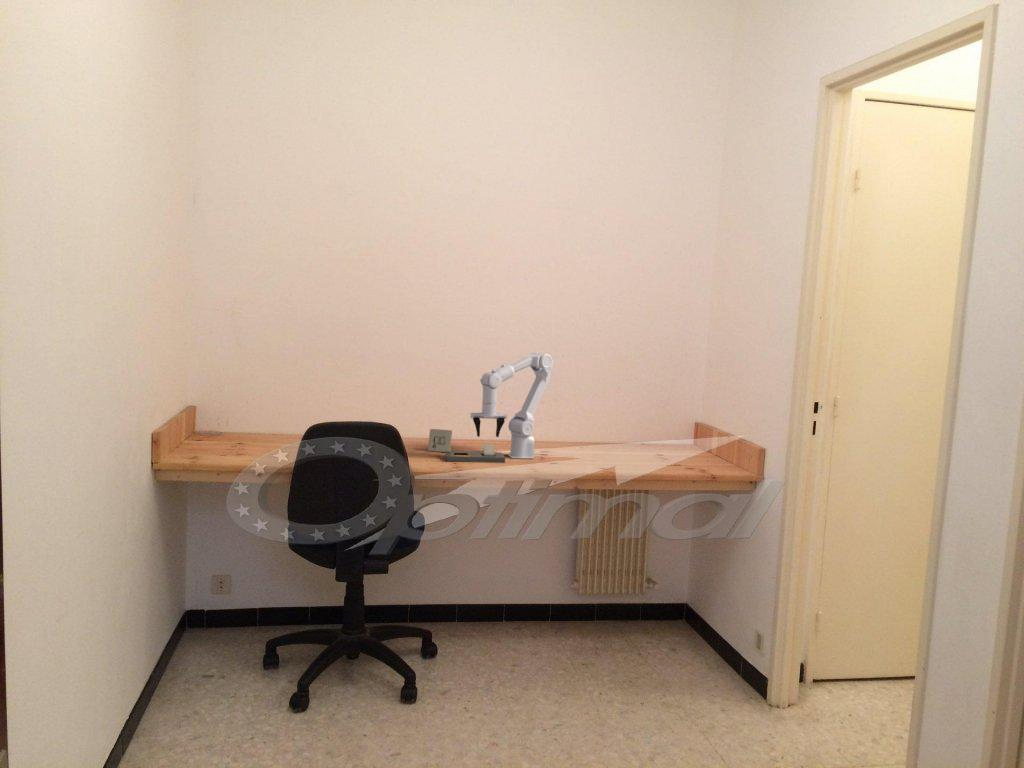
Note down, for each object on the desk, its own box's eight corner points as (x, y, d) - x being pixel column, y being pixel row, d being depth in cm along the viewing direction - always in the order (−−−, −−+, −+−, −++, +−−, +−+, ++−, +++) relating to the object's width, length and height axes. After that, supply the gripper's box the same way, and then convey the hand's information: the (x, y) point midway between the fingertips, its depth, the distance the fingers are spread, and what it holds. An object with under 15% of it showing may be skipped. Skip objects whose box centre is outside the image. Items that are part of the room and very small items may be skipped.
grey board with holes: (500, 457, 322) (501, 452, 322) (504, 462, 313) (505, 457, 312) (444, 456, 318) (444, 450, 318) (447, 461, 308) (447, 456, 308)
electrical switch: (427, 451, 326) (429, 429, 326) (429, 450, 331) (431, 428, 331) (449, 453, 325) (451, 430, 325) (451, 452, 331) (453, 429, 330)
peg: (492, 458, 319) (493, 444, 318) (493, 461, 315) (494, 446, 314) (482, 458, 318) (483, 444, 317) (483, 460, 314) (484, 445, 313)
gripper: (505, 401, 320) (503, 434, 321) (469, 400, 316) (468, 434, 318) (508, 404, 313) (507, 438, 314) (472, 403, 310) (471, 437, 311)
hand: (487, 436), depth 316 cm, fingers open, 7 cm apart
